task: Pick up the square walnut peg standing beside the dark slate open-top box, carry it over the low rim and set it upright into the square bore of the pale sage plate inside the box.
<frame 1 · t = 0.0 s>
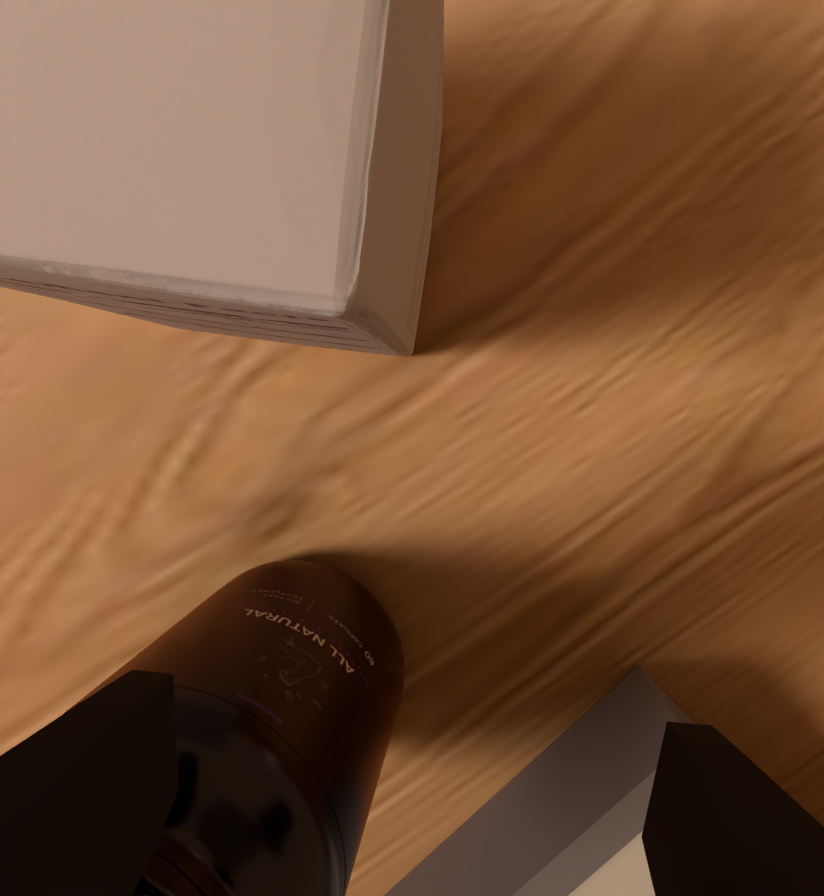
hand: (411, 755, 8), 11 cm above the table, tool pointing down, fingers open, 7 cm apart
supplement bottle: (304, 651, 19), on the table, touching gripper
supplement box: (312, 231, 18), on the table
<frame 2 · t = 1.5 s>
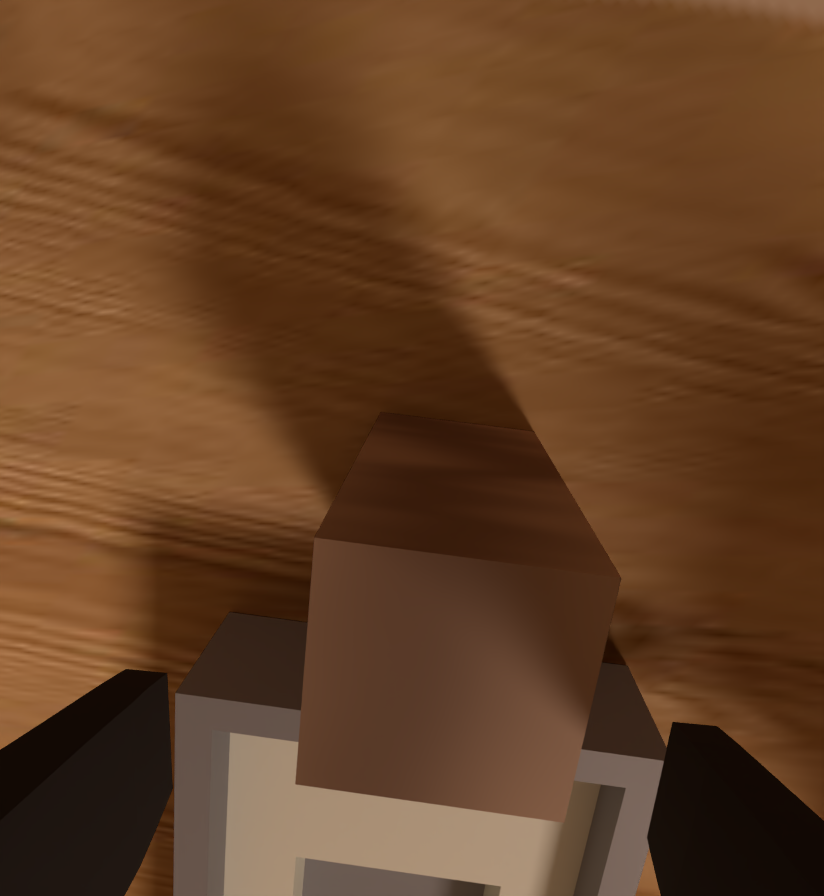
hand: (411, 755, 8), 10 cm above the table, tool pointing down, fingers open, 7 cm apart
wooden peg: (447, 493, 18), on the table
open box: (393, 874, 22), on the table
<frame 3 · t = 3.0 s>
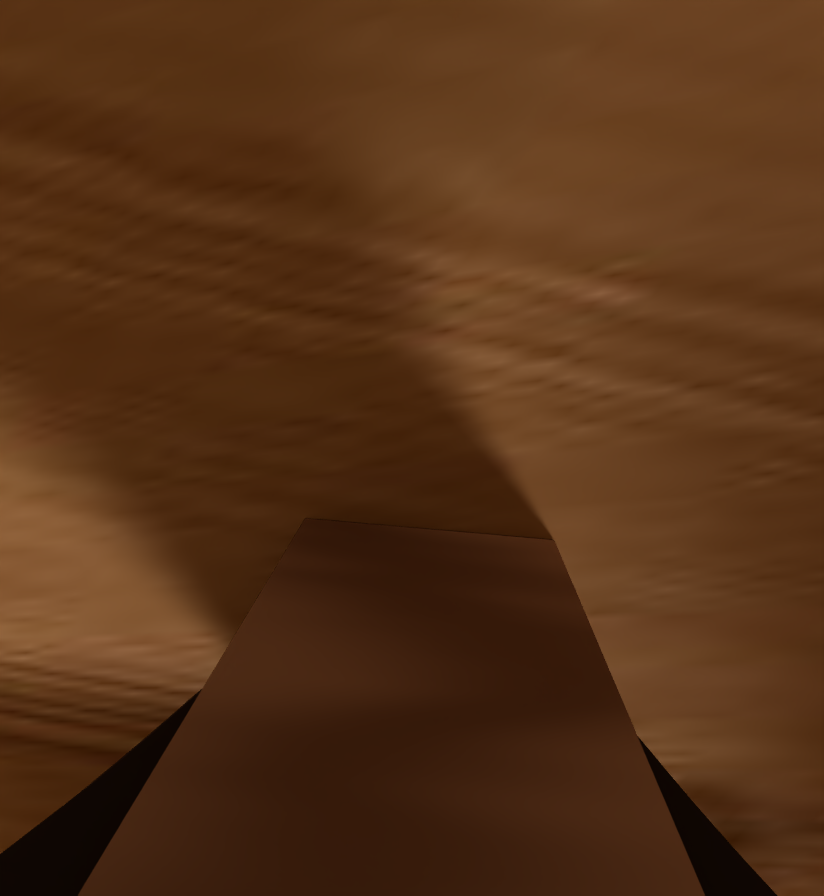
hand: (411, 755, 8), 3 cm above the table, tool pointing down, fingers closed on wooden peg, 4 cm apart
wooden peg: (419, 638, 11), on the table, touching gripper
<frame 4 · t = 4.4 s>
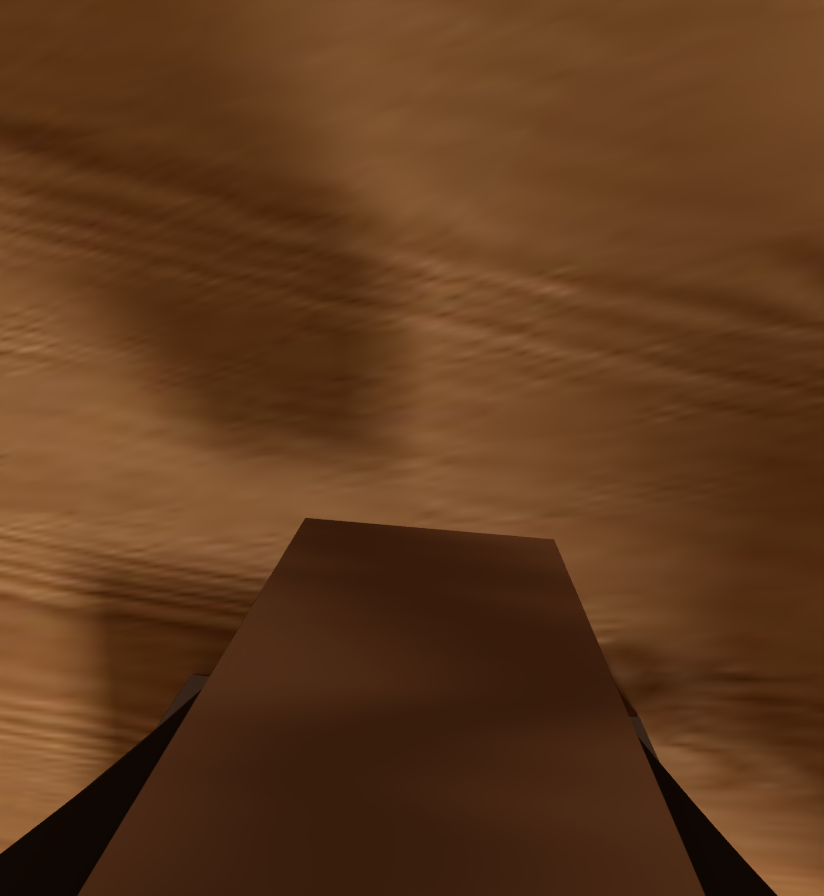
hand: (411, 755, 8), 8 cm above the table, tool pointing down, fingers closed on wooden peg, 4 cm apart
wooden peg: (419, 637, 11), point 5 cm above the table, touching gripper
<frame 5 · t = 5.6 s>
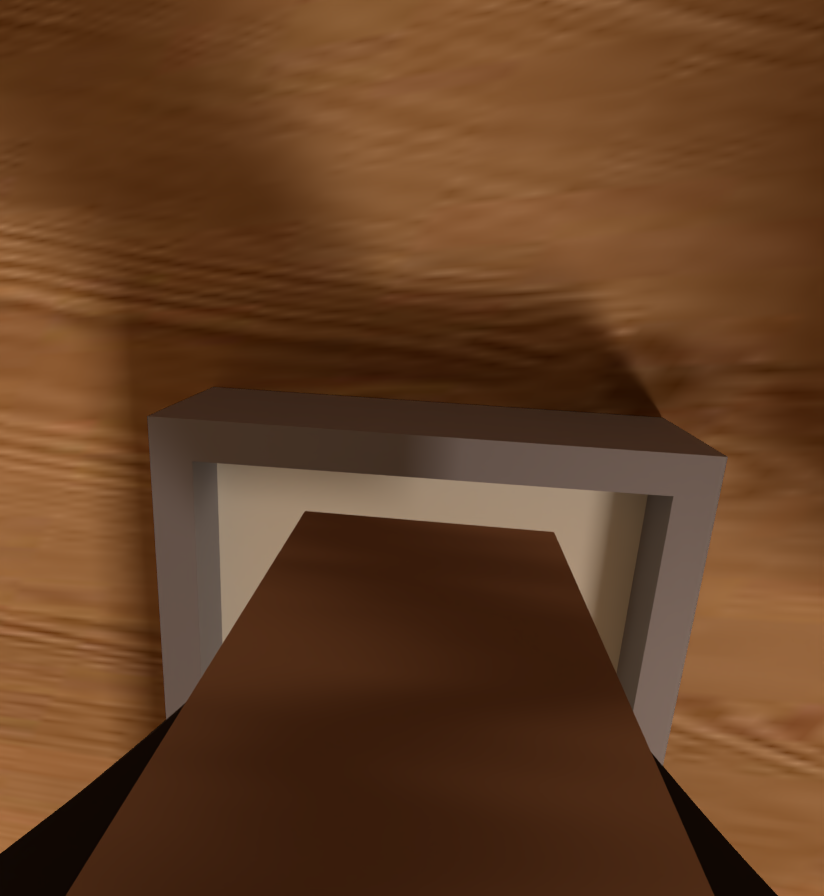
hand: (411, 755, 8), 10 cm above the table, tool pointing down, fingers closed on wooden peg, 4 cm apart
wooden peg: (419, 631, 11), point 7 cm above the table, touching gripper
open box: (414, 696, 20), on the table
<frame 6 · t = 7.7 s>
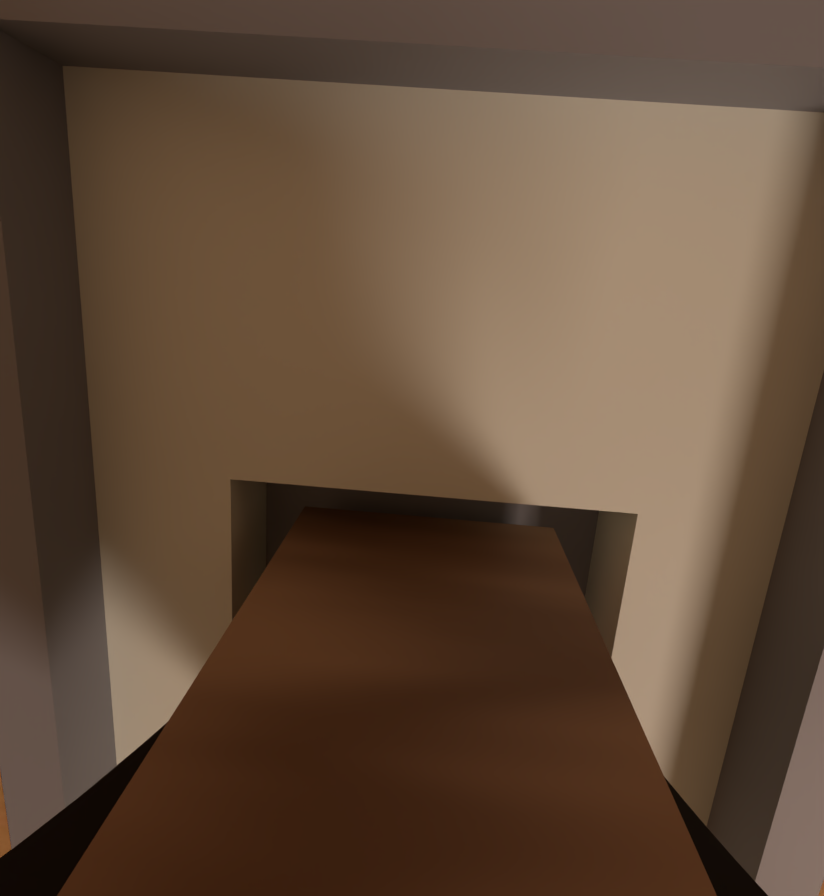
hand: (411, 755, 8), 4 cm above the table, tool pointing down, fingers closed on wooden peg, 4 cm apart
wooden peg: (419, 626, 11), point 1 cm above the table, touching gripper
open box: (422, 598, 13), on the table
when the fingers open (4 cm above the table, at t = 7.9 s): wooden peg stays where it is, resting on open box.
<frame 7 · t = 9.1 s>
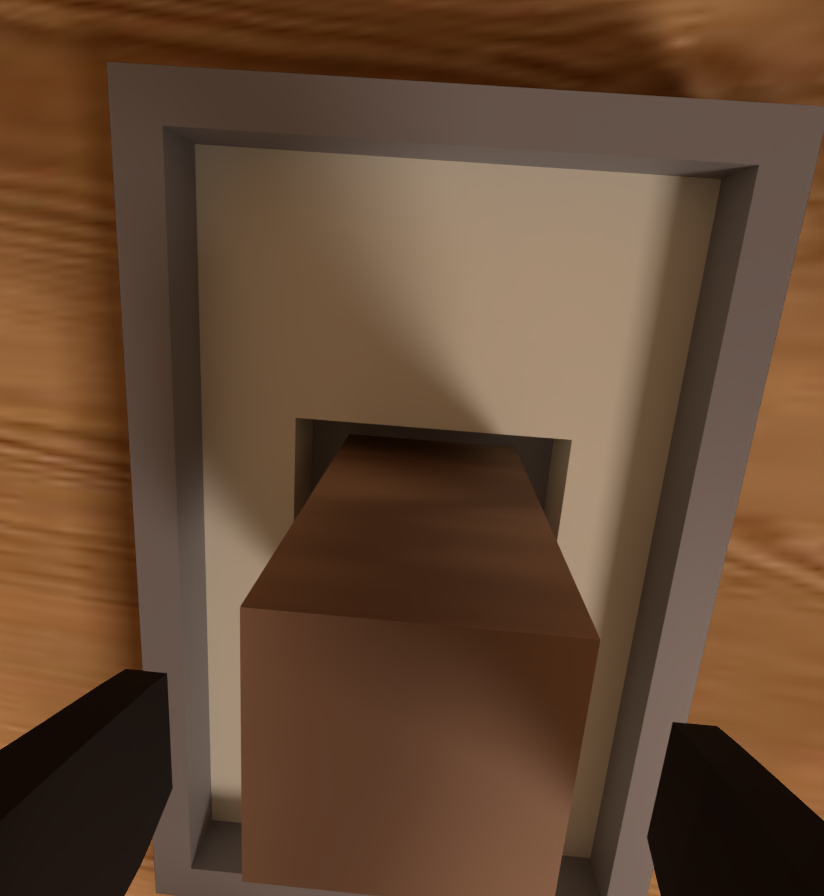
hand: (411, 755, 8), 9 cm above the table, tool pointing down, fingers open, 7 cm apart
wooden peg: (425, 517, 17), resting on open box
open box: (425, 517, 17), on the table
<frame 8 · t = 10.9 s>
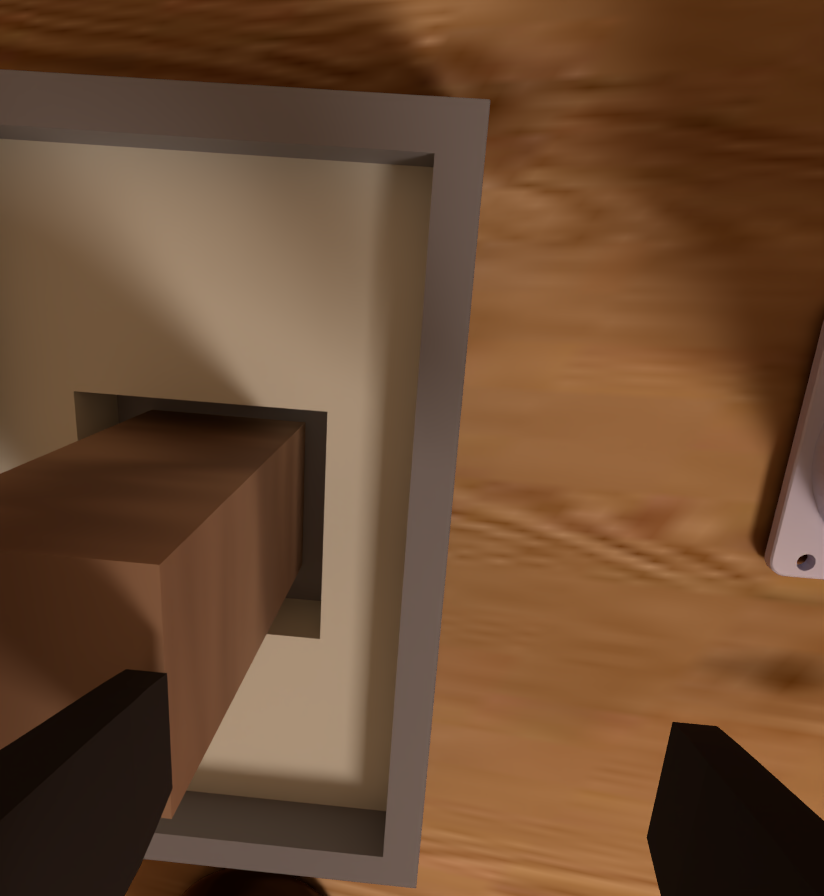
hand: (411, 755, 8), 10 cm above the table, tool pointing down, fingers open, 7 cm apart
wooden peg: (229, 489, 18), resting on open box
open box: (234, 489, 18), on the table
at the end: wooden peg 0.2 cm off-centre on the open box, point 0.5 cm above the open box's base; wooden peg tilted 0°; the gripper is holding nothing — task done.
